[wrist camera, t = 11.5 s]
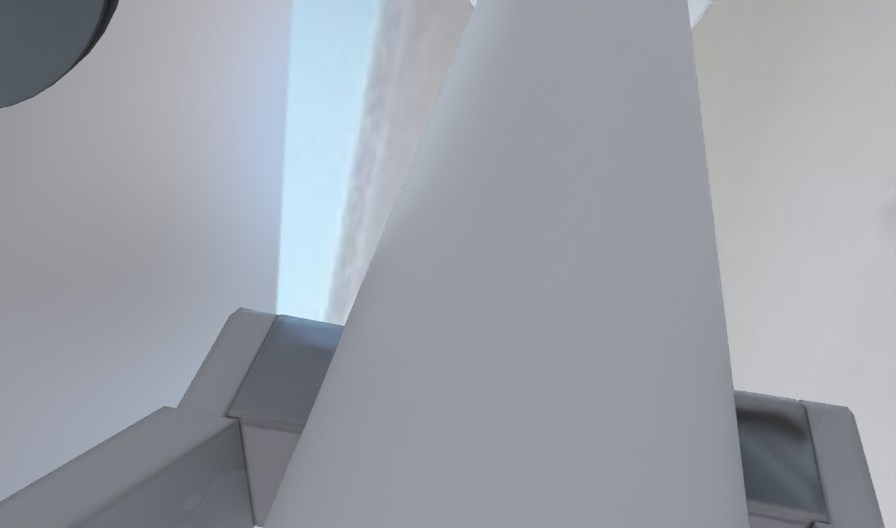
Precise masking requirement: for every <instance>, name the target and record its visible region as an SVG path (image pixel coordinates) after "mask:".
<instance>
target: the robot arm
mask: <svg viewBox="0 0 896 528" xmlns="http://www.w3.org/2000/svg"><path fill="white" fill-rule="evenodd" d="M344 328H345V326H340V325H335V324H330V323H324V322H319V321H314V320H309V319H303V318H298V317H293V316H287V315H282V314H281V315H277V314H272V313H266V312H261V311H256V310H251V309H245V308H239V309H238V310H236V311H235V312H234V313H233V314H231V315H230V316H229V318H228V320H227V322H226V323H225V325H224V327H223V328H222V330H221V332H220V334H219V335H218V337H217V339H216V341H215V343H214V344H213V346H212V347H211V350H210V351H209V353H208V355H207V356H206V358H205V360H204V361H203V363H202V365H201V367H200V368H199V370H198V372H197V374H196V375H195V377H194V379H193V380H192V382H191V384H190V386H189V387H188V389H187V391H186V393H185V394H184V396H183V398H182V400H181V401H180V403H179V405H178V407H177V408H172V407H165V406H164V407H162V408H161V409H158V410H157V411H155V412H153V413H152V414H150V415H148V416H146V417H145V418H143V419H141V420H140V421H138V422H136V423H135V424H133V425H131V426H129V427H128V428H126V429H124V430H122V431H121V432H119V433H117V434H116V435H114V436H112V437H111V438H109V439H107V440H105V441H104V442H102V443H100V444H98V445H97V446H95V447H93V448H91V449H90V450H88V451H86V452H85V453H83V454H81V455H79V456H78V457H76V458H74V459H73V460H71V461H69V462H67V463H66V464H64V465H62V466H61V467H59V468H57V469H56V470H54V471H52V472H50V473H49V474H47V475H45V476H43V477H42V478H40V479H38V480H37V481H35V482H33V483H31V484H30V485H28V486H26V487H25V488H23V489H21V490H19V491H18V492H16V493H14V494H12V495H11V496H9V497H8V498H6V499H4V500H2V501H0V528H254V526H259V527H263V526H264V524H265V521H266V519H267V516H268V514H269V511H270V509H271V506H272V504H273V501H274V499H275V497H276V494H277V492H278V489H279V487H280V484H281V482H282V479H283V477H284V474H285V472H286V469H287V467H288V465H289V462H290V460H291V457H292V455H293V452H294V450H295V447H296V445H297V442H298V440H299V438H300V436H301V434H302V431H303V430H304V428H305V425H306V423H307V420H308V418H309V415H310V413H311V410H312V408H313V405H314V403H315V400H316V398H317V396H318V393H319V391H320V388H321V386H322V383H323V381H324V378H325V376H326V373H327V371H328V368H329V366H330V363H331V361H332V358H333V356H334V354H335V351H336V349H337V346H338V344H339V341H340V339H341V336H342V334H343V330H344ZM734 401H735V409H736V418H737V426H738V435H739V443H740V452H741V460H742V469H743V477H744V486H745V494H746V503H747V510H748V516H749V524H750V528H885V526H884V523H883V519H882V515H881V512H880V508H879V504H878V501H877V497H876V494H875V490H874V486H873V483H872V479H871V475H870V472H869V468H868V464H867V461H866V457H865V453H864V450H863V446H862V442H861V439H860V435H859V431H858V428H857V424H856V420H855V417H854V414H853V413H852V412H851V411H850V410H849V408H848V407H844V406H837V405H831V404H824V403H817V402H811V401H804V400H799V401H797V400H795V399H790V398H783V397H777V396H770V395H764V394H758V393H751V392H745V391H738V390H734Z"/></svg>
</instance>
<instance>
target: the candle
mask: <svg viewBox="0 0 896 528" xmlns="http://www.w3.org/2000/svg"><path fill="white" fill-rule="evenodd" d="M470 1H471V3H472V5H473V7H474V9H473V11H472V14H471V16H470V19H469V21H468V24H467V26H466V28H465V31H464V33H463V36H462V38H461V41H460V43H459V46H458V48H457V51H456V53H455V56H454V58H453V61H452V63H451V65H450V68H449V70H448V73H447V75H446V78H445V80H444V83H443V85H442V88H441V90H440V93H439V95H438V97H437V100H436V102H435V105H434V107H433V110H432V112H431V115H430V117H429V120H428V122H427V125H426V127H425V129H424V132H423V134H422V137H421V139H420V142H419V144H418V147H417V149H416V152H415V154H414V157H413V159H412V162H411V164H410V166H409V169H408V171H407V174H406V176H405V179H404V181H403V184H402V186H401V189H400V191H399V194H398V196H397V198H396V201H395V203H394V206H393V208H392V211H391V213H390V216H389V218H388V221H387V223H386V226H385V228H384V230H383V233H382V235H381V238H380V240H379V243H378V245H377V248H376V250H375V253H374V255H373V258H372V260H371V263H370V265H369V267H368V270H367V272H366V275H365V277H364V280H363V282H362V285H361V287H360V290H359V292H358V295H357V297H356V299H355V302H354V304H353V307H352V309H351V312H350V314H349V317H348V319H347V322H346V324H345V328H344V330H343V334H342V336H341V339H340V341H339V344H338V346H337V349H336V351H335V354H334V356H333V358H332V361H331V363H330V366H329V368H328V371H327V373H326V376H325V378H324V381H323V383H322V386H321V388H320V391H319V393H318V396H317V398H316V400H315V403H314V405H313V408H312V410H311V413H310V415H309V418H308V420H307V423H306V425H305V428H304V430H303V431H302V434H301V436H300V438H299V440H298V442H297V445H296V447H295V450H294V452H293V455H292V457H291V460H290V462H289V465H288V467H287V469H286V472H285V474H284V477H283V479H282V482H281V484H280V487H279V489H278V492H277V494H276V497H275V499H274V501H273V504H272V506H271V509H270V511H269V514H268V516H267V519H266V521H265V524H264V526H263V528H750V524H749V516H748V510H747V503H746V494H745V486H744V477H743V469H742V460H741V452H740V443H739V435H738V426H737V418H736V409H735V401H734V389H733V380H732V372H731V363H730V355H729V346H728V338H727V330H726V321H725V313H724V304H723V296H722V287H721V279H720V270H719V262H718V254H717V245H716V237H715V228H714V220H713V211H712V203H711V195H710V186H709V178H708V169H707V161H706V152H705V144H704V135H703V127H702V119H701V110H700V102H699V93H698V85H697V76H696V68H695V59H694V51H693V43H692V34H691V30H692V29H693V28H694V27H695V26H696V24H697V23H698V22H699V21H700V19H701V18H702V17H703V16H704V14H705V13H706V11H707V10H708V8H709V7H710V5H711V4H712V2H713V0H470Z"/></svg>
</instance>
